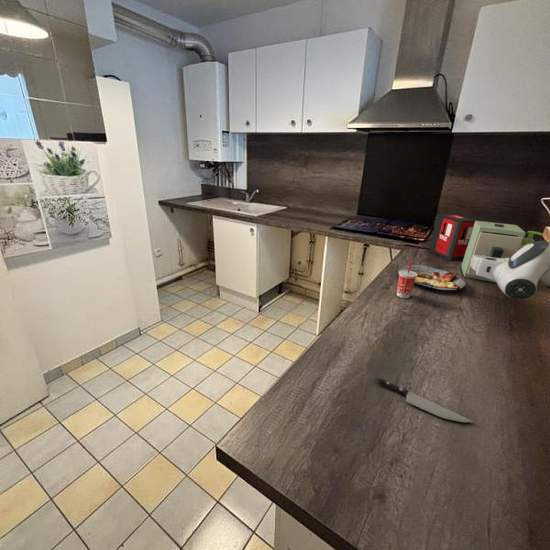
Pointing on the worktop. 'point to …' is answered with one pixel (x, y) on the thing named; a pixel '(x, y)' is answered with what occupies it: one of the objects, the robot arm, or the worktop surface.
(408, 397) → the chef's knife
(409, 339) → the worktop surface
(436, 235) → the cleaning product box
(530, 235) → the soap dispenser
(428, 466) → the worktop surface
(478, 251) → the basket
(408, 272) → the beverage cup
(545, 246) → the robot arm
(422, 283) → the food plate
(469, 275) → the box
